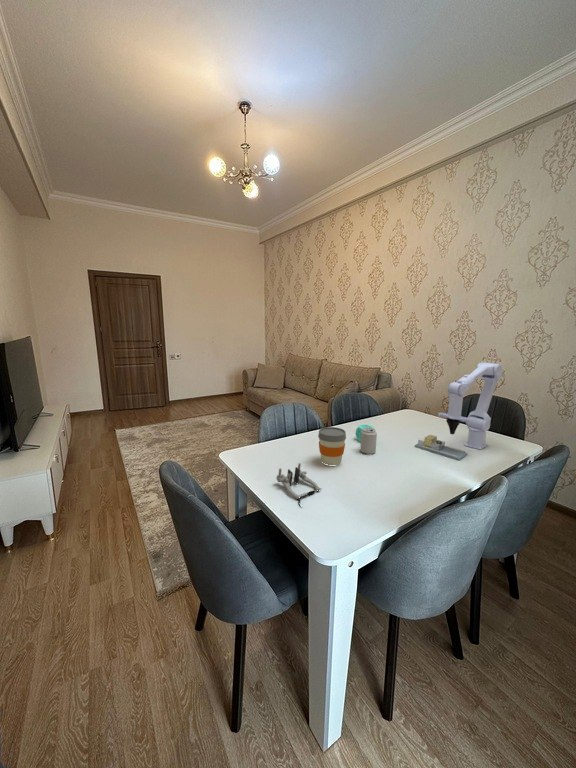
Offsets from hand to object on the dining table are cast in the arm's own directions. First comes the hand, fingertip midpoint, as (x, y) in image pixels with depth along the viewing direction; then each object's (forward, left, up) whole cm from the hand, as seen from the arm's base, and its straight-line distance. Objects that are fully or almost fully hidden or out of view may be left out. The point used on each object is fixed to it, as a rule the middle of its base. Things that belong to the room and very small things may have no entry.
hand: (452, 433), depth 153 cm
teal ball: (+19, -37, -10) cm, 43 cm away
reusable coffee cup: (+54, -31, -10) cm, 63 cm away
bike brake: (+82, -22, -10) cm, 85 cm away
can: (+31, -27, -10) cm, 42 cm away
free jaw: (+2, -6, -9) cm, 11 cm away
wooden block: (+2, -9, -9) cm, 13 cm away
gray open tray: (+2, -4, -10) cm, 11 cm away
